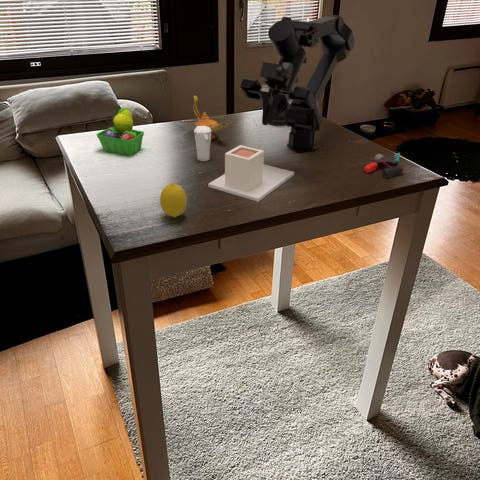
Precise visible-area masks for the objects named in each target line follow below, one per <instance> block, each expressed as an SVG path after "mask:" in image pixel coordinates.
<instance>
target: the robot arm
mask: <svg viewBox="0 0 480 480" xmlns="http://www.w3.org/2000/svg"><path fill="white" fill-rule="evenodd" d="M267 33H268V38H269V40H270V42H271V44H272V46H273V48H274V50H275V52H276V53H277V55H278V56H279V59H278V61H277V63H272V62H266V61H262V63H261V67H260V71H259V77H262V78H264V80H263V81H264V83H265V84H261V83H260V82H259V80H258V79H256V78H250V77H244V78H242V79H241V81H240V84H239V86H238V87H239V88H240V90H241V91H242V93H243V95H244V96H245V97H246V98H248V99H249V100H254V101H259V100H260V99H261V100H262V116H261V117H262V118H261V124H262V125H263V126H268V125H270V124H269V123H270V122H271V121H272V120H273V119H274V118H276V117H277V116H278V115H279V114H281V113H282V112H284V111H285V110H286V111H285V117H286V127H289V128H290V132H289V134H288V143H286V146H287V147H289V148H290V149H291V150H293V151H294V152H295V153H304V152H310V151H316V150H317V147H316V146H315V137H316V136H315V135H316V132H319V131H320V129H321V127H322V126H321V125H322V122H323V120H322V118H321V116H320V115H321V114H320V113H319V112H320V109H319V104H318V102H319V100H320V98H321V95H322V94H323V92H324V91H325V88H326V87H327V85H328V82H329V80H330V79H331V77H332V74H333V72H334V71H335V69H336V67H337V66H338V63H340V62H342V61H344V60H346V59H347V58H348V56H349V54H350V53H351V52H352V51H353V49H354V46H355V37H354V33H353V30H352V28H350V27H349V26H348V25H347V24H346V23H345V20H344V17H343V16H341V15H334V14H326V15H324V16H323V17H319V18H315V19H313V20H311V21H304V20H295V19H294V20H292V18H291V16H282V18H281V20H278V21H276V22H275V23H274V24H272V25H271V26H269V28H268V32H267ZM320 41H321V46H322V51H323V53H322V55H321V57H320V59H319V61H318V63H317V65H316V67H315V68H314V71H313V72H312V74H311V76H310V77H309V80H308V82H307V84H306V85H305V87H303V86H299V85H297V86H295V87H294V84H298V81H299V77H298V76H299V73H300V71H301V68H302V66H303V64H307V63H308V58H307V53H306V51H305V49H304V48H313V47H315V46H316V45H317V44H318V43H319V42H320ZM303 47H304V48H303ZM267 84H268V86H267ZM293 88H294V89H293ZM291 90H292V91H291Z"/></svg>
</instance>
